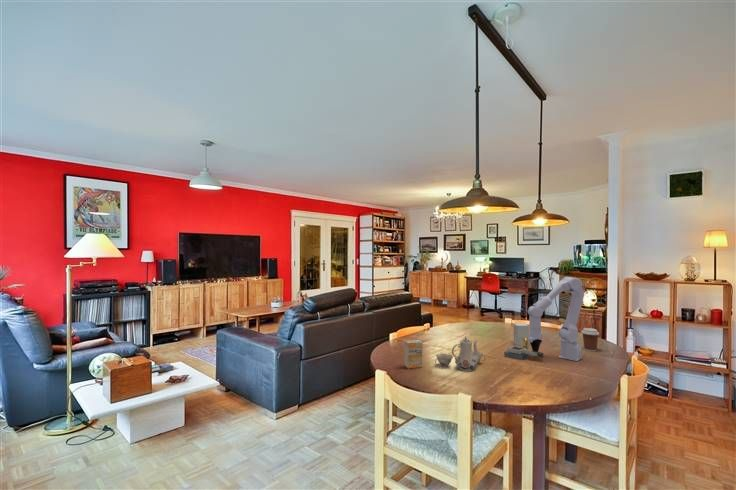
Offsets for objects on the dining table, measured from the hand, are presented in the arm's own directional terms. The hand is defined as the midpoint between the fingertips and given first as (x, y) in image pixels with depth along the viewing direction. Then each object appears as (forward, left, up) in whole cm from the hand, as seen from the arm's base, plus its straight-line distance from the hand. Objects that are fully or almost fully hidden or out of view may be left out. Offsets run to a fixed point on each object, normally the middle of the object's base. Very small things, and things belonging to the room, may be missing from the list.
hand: (535, 352), depth 198 cm
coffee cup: (-17, -38, -3) cm, 41 cm away
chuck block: (+8, +5, -2) cm, 10 cm away
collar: (+3, +5, 0) cm, 6 cm away
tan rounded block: (+7, -4, -2) cm, 8 cm away
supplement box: (+38, +59, -3) cm, 71 cm away
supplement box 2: (+17, -22, -3) cm, 28 cm away
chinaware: (+20, +41, -3) cm, 46 cm away
